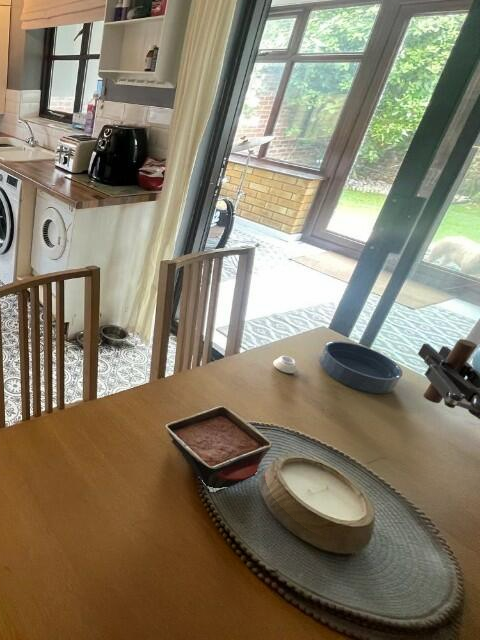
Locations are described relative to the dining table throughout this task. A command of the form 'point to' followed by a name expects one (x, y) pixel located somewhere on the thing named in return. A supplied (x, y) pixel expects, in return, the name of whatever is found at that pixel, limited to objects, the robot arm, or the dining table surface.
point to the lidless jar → (285, 364)
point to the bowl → (360, 367)
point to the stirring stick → (453, 365)
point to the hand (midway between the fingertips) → (432, 350)
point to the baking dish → (219, 446)
